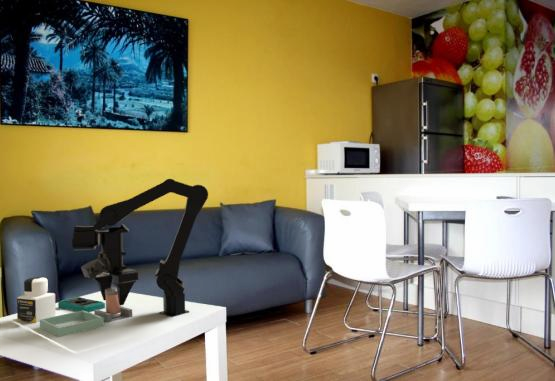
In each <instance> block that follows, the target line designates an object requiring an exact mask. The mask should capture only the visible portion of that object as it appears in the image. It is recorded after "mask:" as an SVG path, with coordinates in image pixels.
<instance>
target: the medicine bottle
mask: <svg viewBox="0 0 555 381" xmlns="http://www.w3.org/2000/svg"><path fill="white" fill-rule="evenodd" d="M48 284H49V282H48V279H47V278H46V277H43V276H35V277H29V278H27V279H24V281H23V287H24V288H23V289H24V290H23V291H24V292H23V293H24V294H23V295H20V296H17V298H16V312H17V314H16V316H17V317H16V318H17V319H16V320H17V322H23V323H25V322H26V323H32V324H36V323H40V319H45V318H50V317H54V316H57V315H56V294H55V293H54V292H48V291H49V287H48V286H49V285H48Z"/></svg>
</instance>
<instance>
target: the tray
mask: <svg viewBox="0 0 555 381" xmlns="http://www.w3.org/2000/svg"><path fill="white" fill-rule="evenodd" d="M78 320H85V321H82V322H76V323H73V324H68V325H64V326H58V325H60V324H64V323H65V324H66V323H69V322H74V321H78ZM104 326H105V321H104V318H103V317H100V316H97V315H95V314H94V313H92V312H86V311H84V310H83V311H78V312H77V311H73V312H69V313H65V314H64V313H63V314H59V315H56V316H54V317H50V318H45V319H40V322H39V328H40V329H43V330H44V331H46V332H48V333H51V335H52V334H53V335H54V336H57V337H59V338H60V337H64V336H68V335H72V334H75V333H79V332H80V333H81V332H84V331H88V330H92V329H97V328H100V327H104Z"/></svg>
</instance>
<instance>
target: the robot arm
mask: <svg viewBox="0 0 555 381" xmlns="http://www.w3.org/2000/svg"><path fill="white" fill-rule="evenodd" d="M169 193H172V194H176V195H179V196H182V197H184V198H186V201H185V209H184V213H183V215H182V218H181V222H180V224H179V227H178V229H177V232H176V235H175V238H174V241H173V244H172V245H171V249H170V251H169V253H168V256H167V257H166V259H165V260H163V259H160V261H159V266H158V269H157V270H156V271H155V277H156V284H157V286H158V288H159V289H160V290H163V297H162V298H163V299H162V300H163V310H161V311H160V312H159V314H160V315H165V316H168V317H172V318H174V317H177V316H180V315H181V316H182V315H185V314H188V313H190V310H187V309H186V293H185V283H184V281H182V280H181V278H180V277H178V276H179V270H180V264H181V260H182V257H183V254H184V251H185V249H186V247H187V243H188V242H189V241H188V240H189V237H190V235H191V233H192V229H193V226H194V225H195V221H196V220H197V217H198V215H199V213H200V212H201V210H203V209H202V208H203V207H204V205H205V203H206V201H207V200H208V199H209V191H208V189H207V188H206V187H205V186H204V185H202V184H193V185H189V184H187V183H183V182H181V181H176V180H175V179H173V178H167V179H165V180H164V181H163V182H160V183H159V184H156V185H155V186H153V187H151V188H148V189H147V190H145V191H143V192H141V193H138V194H137V195H135V196H133V197H131V198H128V199H125V200H122V201H118V202H116V203H112V204H109V205H106V206H104V207H102V208H101V210H100V212H99V219H97V221H96V222H95V223H94V225H92V226H91V225H90V226H87V225H86V226H83V225H75V226H74V227H73V233H72V239H71V244H72V249H73V251H83V250H84V251H85V250H88V251H89V250H90V251H91V250H96V248H97V246H98V247H99V246H100V244H101V251H100V252H98V253H97V258H95V259H94V260H91V261H89V262H87V263H85V264H83V265H82V266H81V267H80V268H81V272H82V273H83V275H84V278H88V279H90V280H91V279H92V280H93V281H95V282H96V283H97V286H98V287H99V288H98V289H99V290H100V294H101V297H102V300H103V301H106V294H105V289H107V288H112V284H113V285H114V286H115V288H117V292H118V299H119V305H120V306H124V305H125V303H126V301H127V298H128V297H129V294H130V293H131V292H130V291H131V290H132V288H133V286H134V285H135V283H137V281H138V280H140V279H139V277H140V274H139V273H140V272H139V271H138V270H137V269H133V268H127V265H124V256H126V254H127V253H126V251H124V249H123V233H124V234H125V233H128V232H130V229H129V228H128V227H127V226H125V224H124V223H122V224H121V225H120V226H115V225H117V224H118V223H119V222H121V221H123V220H124V219H125V218H127V217H128V216H130V215H131V213H134V212H135V211H136V210H138V209H140V208H143V207H144V206H145V205H148V204H150V203H153V201H156V200H158V199H160V198H162V197H163V196H165V195H168V194H169ZM107 226H109V228H108V229H107V230H102V229H104V228H106V227H107ZM111 226H112V227H111Z"/></svg>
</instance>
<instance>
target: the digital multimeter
mask: <svg viewBox="0 0 555 381" xmlns="http://www.w3.org/2000/svg"><path fill="white" fill-rule="evenodd" d="M57 305H58V307H57V308H58V309H60V310H70V311H73V312H78V311H83V310H84V311H86V312H89V313H92V312H94V310H103V309H106V302H103V301H99V300H93V299H89V298H85V297H80V296H74V297H69V298H64V299H62V300H59V302H58V304H57Z"/></svg>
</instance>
